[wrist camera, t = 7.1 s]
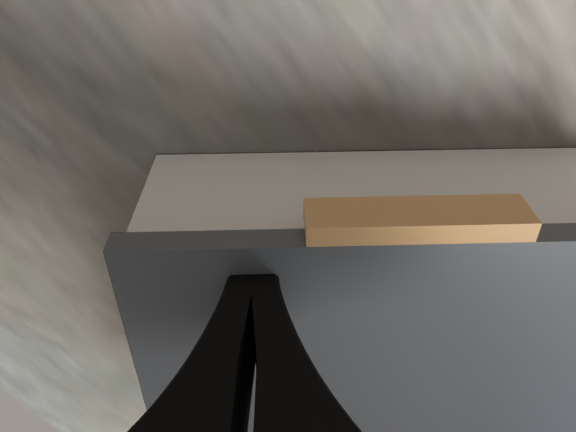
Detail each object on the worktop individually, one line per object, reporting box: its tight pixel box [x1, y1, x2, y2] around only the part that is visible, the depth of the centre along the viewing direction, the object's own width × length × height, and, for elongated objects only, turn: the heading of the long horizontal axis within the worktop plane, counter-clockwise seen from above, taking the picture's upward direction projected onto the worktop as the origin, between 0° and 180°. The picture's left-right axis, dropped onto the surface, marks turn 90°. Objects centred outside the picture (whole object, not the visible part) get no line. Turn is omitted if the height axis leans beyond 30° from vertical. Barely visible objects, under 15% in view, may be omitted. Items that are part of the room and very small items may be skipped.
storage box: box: [126, 148, 576, 232], centre depth 20 cm, size 12×16×5 cm
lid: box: [103, 194, 576, 432], centre depth 17 cm, size 13×16×1 cm
